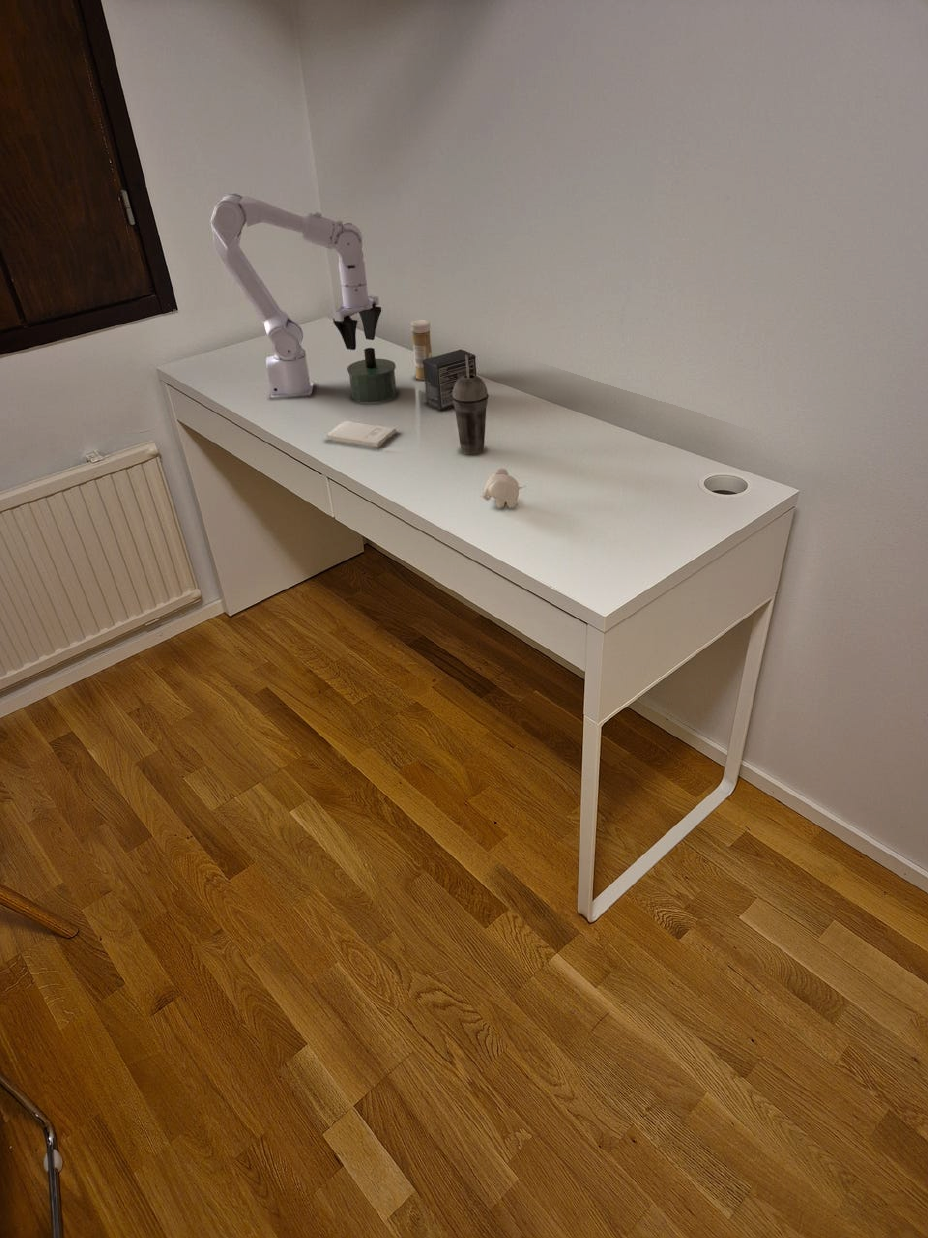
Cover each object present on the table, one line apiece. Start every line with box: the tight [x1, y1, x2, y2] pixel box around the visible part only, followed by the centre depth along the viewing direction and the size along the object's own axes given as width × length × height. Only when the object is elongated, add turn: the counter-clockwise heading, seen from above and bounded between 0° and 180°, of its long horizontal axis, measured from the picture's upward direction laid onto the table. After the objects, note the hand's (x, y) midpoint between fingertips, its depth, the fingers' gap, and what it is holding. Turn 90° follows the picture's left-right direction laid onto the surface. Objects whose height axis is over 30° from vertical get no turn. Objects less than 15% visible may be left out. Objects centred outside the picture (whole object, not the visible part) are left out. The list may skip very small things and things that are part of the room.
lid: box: [346, 347, 397, 377], centre depth 198 cm, size 11×11×5 cm
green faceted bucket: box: [348, 370, 397, 403], centre depth 201 cm, size 10×10×6 cm
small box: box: [423, 349, 477, 412], centre depth 194 cm, size 11×6×10 cm, turn 123°
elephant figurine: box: [481, 468, 526, 509], centre depth 154 cm, size 7×8×6 cm
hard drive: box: [325, 420, 397, 450], centre depth 183 cm, size 2×8×12 cm
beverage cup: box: [452, 355, 490, 456], centre depth 170 cm, size 7×7×20 cm
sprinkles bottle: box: [410, 319, 433, 381], centre depth 207 cm, size 5×5×14 cm
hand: (360, 344), depth 202 cm, fingers open, 7 cm apart
